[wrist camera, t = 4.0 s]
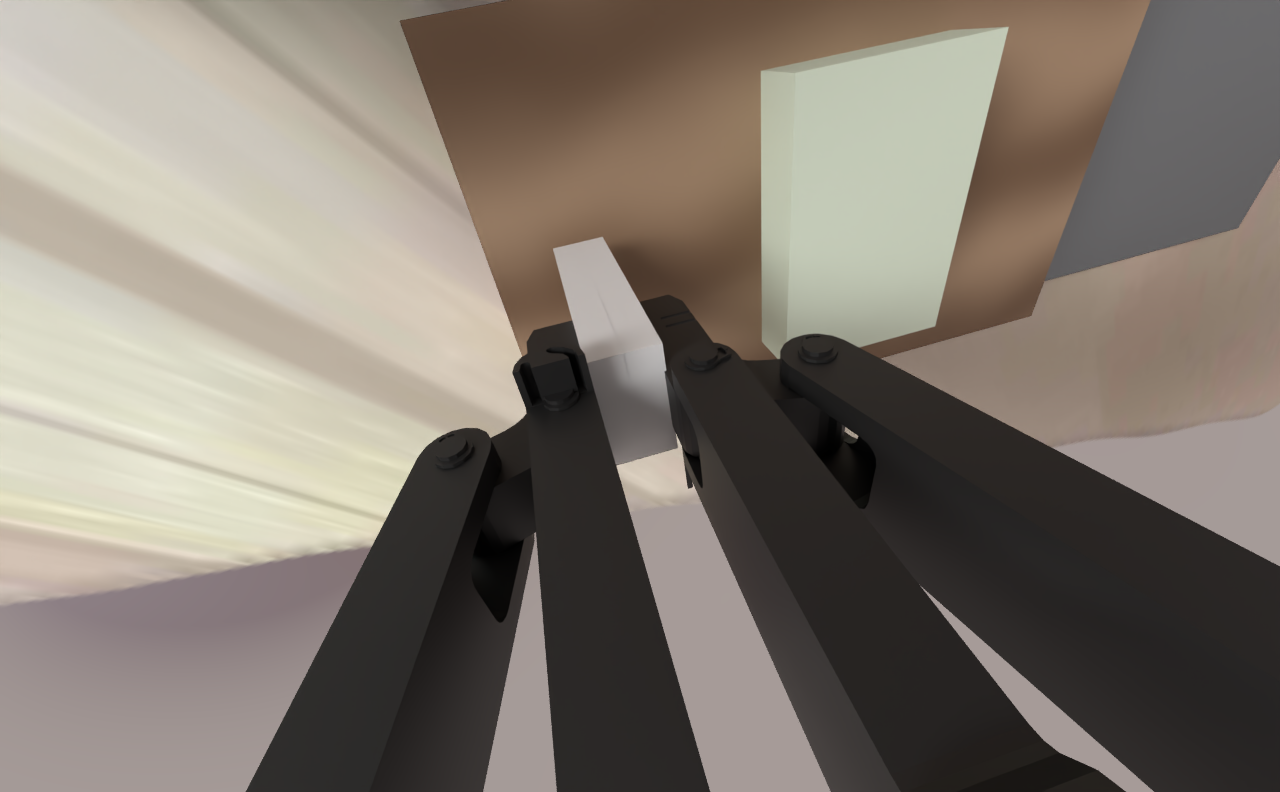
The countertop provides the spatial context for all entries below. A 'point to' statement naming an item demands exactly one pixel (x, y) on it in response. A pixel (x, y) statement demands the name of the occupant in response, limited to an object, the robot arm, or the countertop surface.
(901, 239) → the pale green block
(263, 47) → the countertop surface
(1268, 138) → the mat
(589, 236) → the board
